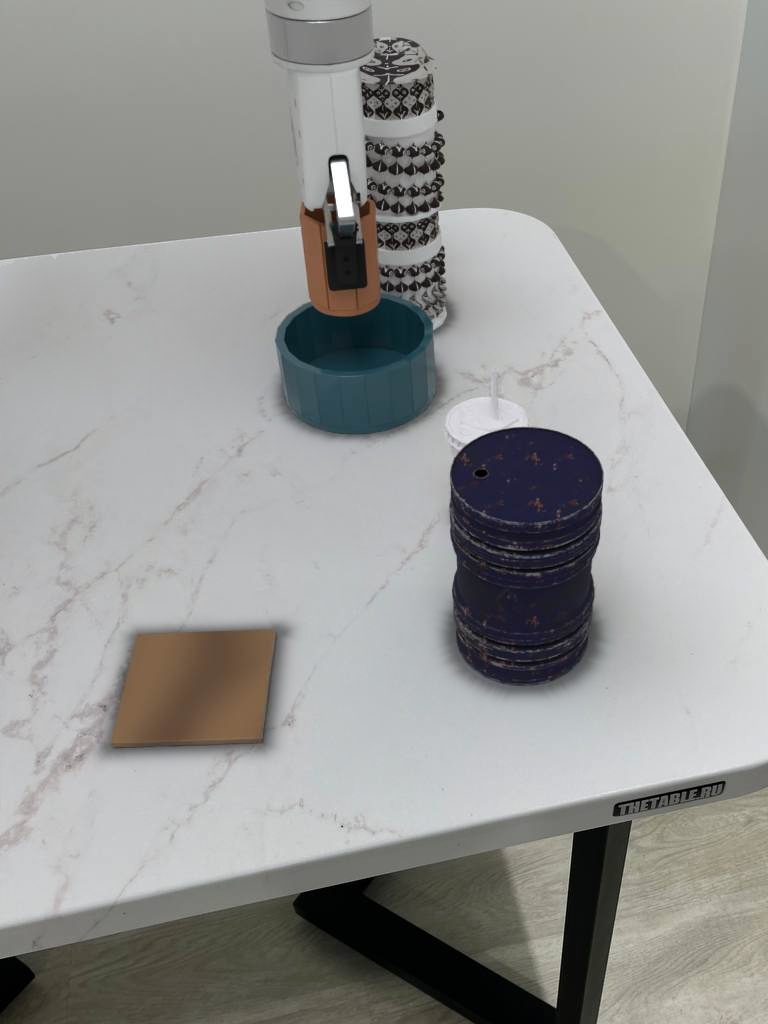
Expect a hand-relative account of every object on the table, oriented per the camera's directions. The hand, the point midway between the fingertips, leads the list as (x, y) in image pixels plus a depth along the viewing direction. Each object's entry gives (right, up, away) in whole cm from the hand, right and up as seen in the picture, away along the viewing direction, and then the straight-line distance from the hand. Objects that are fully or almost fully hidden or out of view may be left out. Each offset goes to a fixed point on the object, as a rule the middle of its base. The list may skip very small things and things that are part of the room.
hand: (342, 265), depth 89 cm
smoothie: (+12, -22, -3) cm, 25 cm away
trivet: (-8, -35, -15) cm, 39 cm away
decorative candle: (+4, +1, +18) cm, 19 cm away
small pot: (0, -2, +2) cm, 3 cm away
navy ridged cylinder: (+15, -31, -12) cm, 37 cm away
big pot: (+1, -8, +9) cm, 12 cm away
